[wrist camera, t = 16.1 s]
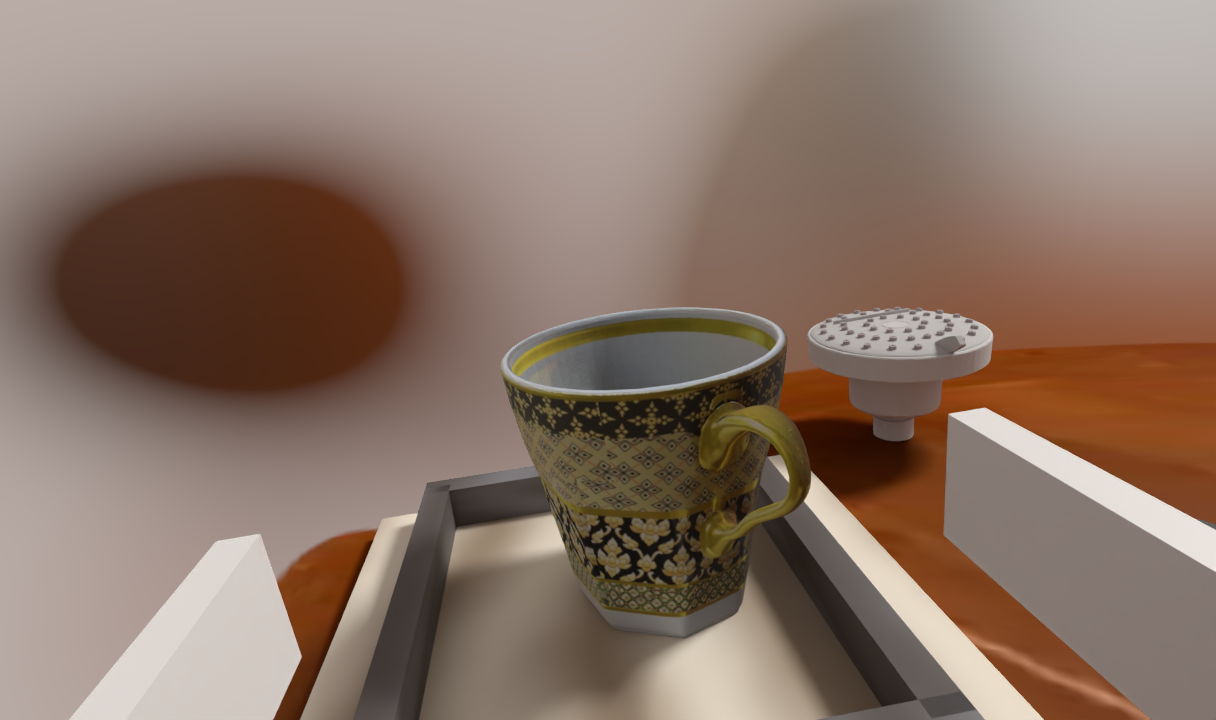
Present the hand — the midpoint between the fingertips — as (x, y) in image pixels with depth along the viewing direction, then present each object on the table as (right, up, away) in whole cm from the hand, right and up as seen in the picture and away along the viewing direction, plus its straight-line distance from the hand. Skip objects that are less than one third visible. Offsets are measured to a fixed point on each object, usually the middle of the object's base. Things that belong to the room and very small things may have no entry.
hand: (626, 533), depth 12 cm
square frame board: (0, -7, +12) cm, 14 cm away
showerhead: (+16, -1, +25) cm, 30 cm away
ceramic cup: (+3, -6, +12) cm, 14 cm away
